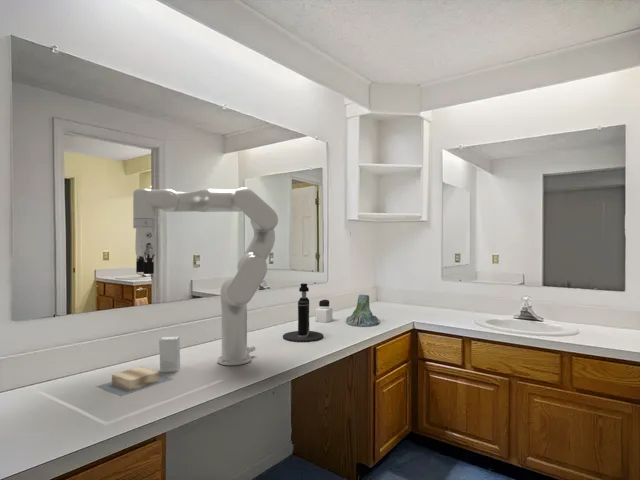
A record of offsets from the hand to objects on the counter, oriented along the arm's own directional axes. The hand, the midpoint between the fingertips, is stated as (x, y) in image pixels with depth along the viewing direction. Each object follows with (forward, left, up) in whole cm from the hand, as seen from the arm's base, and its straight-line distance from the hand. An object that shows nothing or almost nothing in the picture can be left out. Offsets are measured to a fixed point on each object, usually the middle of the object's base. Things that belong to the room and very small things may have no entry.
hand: (144, 272), depth 145 cm
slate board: (+10, +10, -35) cm, 37 cm away
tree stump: (-116, +23, -35) cm, 124 cm away
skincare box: (-4, +8, -35) cm, 36 cm away
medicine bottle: (-108, +3, -35) cm, 114 cm away
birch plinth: (+10, +10, -34) cm, 37 cm away
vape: (-71, +16, -35) cm, 81 cm away
